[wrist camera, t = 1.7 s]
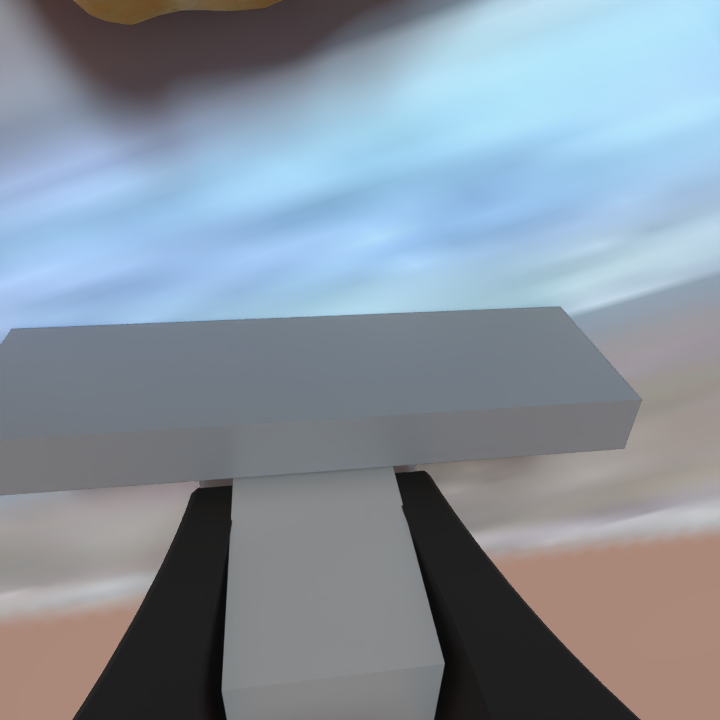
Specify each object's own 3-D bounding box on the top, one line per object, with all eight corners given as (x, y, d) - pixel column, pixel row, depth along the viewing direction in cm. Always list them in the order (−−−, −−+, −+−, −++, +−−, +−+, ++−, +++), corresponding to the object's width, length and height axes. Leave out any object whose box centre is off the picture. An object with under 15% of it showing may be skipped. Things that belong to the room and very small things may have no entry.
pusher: (560, 306, 12) (784, 561, 7) (523, 459, 14) (670, 737, 9) (12, 328, 10) (-222, 668, 5) (66, 494, 12) (-62, 843, 8)
